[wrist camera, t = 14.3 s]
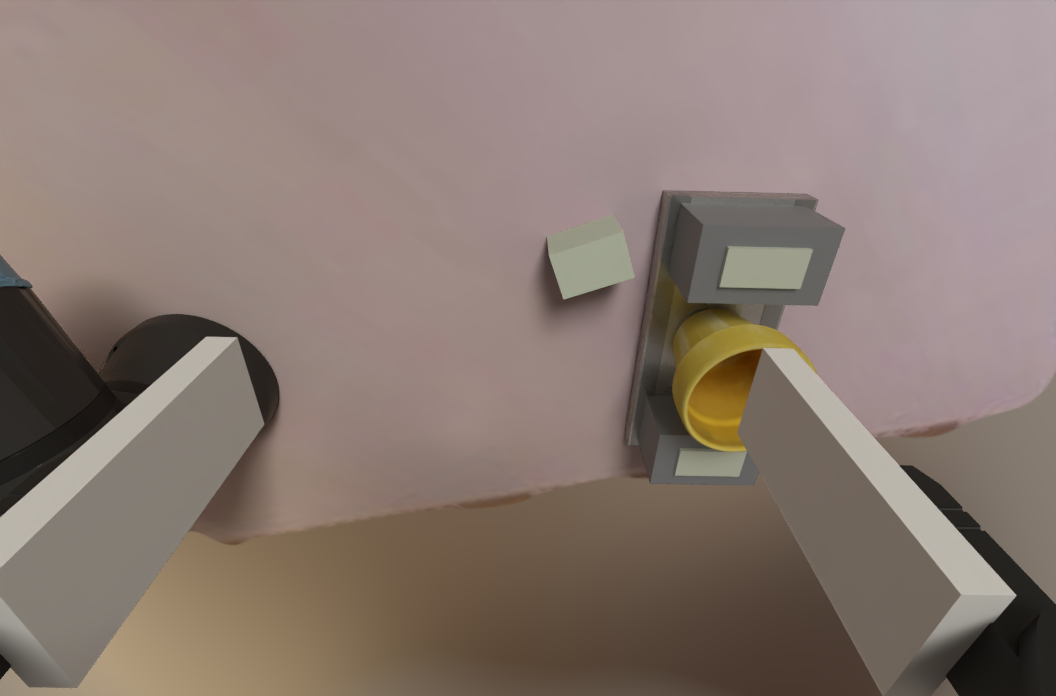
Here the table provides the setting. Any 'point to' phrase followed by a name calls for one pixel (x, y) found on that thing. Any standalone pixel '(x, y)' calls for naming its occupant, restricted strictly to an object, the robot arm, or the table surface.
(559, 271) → the block
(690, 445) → the module far
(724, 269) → the block
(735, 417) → the plant pot
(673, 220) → the rail
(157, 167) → the table surface
